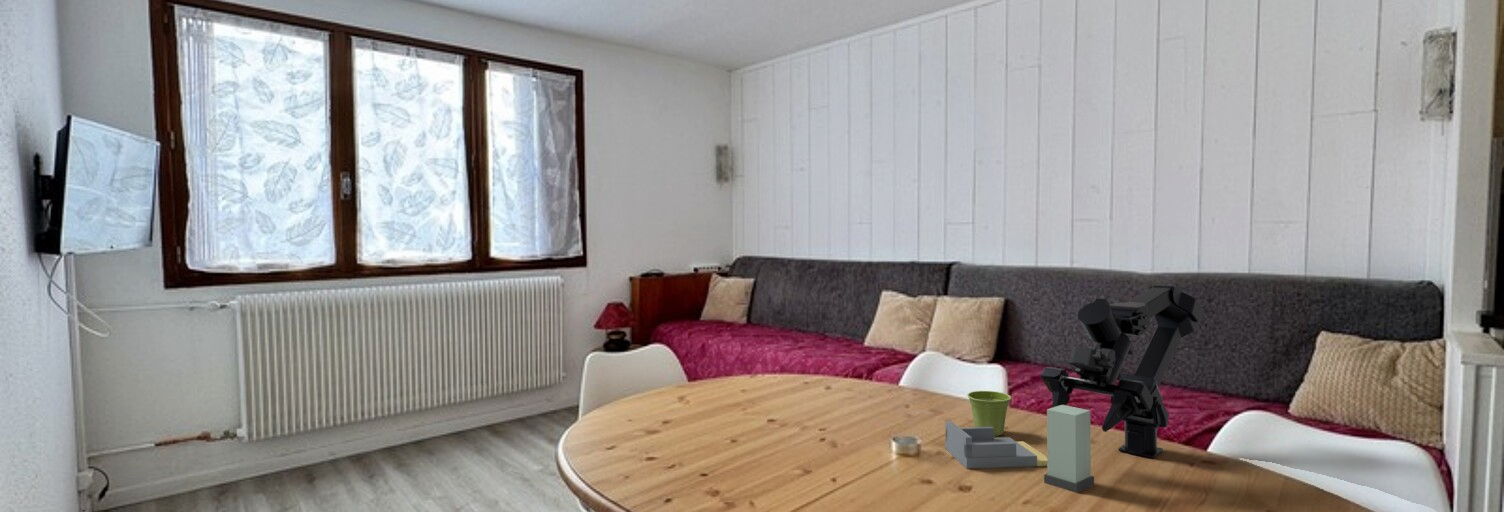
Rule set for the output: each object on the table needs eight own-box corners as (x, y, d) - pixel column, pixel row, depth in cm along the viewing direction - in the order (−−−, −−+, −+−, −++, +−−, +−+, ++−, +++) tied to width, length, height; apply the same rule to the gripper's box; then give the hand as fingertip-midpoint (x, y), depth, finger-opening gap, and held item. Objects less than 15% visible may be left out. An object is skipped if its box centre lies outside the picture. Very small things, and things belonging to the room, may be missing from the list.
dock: (1023, 446, 137) (1023, 418, 137) (1052, 465, 125) (1051, 435, 125) (945, 448, 137) (945, 420, 136) (966, 468, 125) (966, 438, 124)
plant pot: (1015, 440, 141) (1014, 401, 141) (970, 438, 143) (970, 399, 143) (1007, 428, 150) (1006, 391, 150) (965, 426, 152) (964, 390, 152)
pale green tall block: (1061, 475, 120) (1061, 403, 120) (1094, 484, 115) (1093, 410, 115) (1044, 482, 117) (1043, 409, 116) (1076, 492, 112) (1076, 416, 112)
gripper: (1045, 326, 128) (1013, 389, 122) (1146, 336, 113) (1116, 409, 107) (1066, 361, 133) (1036, 423, 127) (1165, 375, 118) (1137, 446, 111)
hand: (1078, 424), depth 118 cm, fingers open, 9 cm apart
